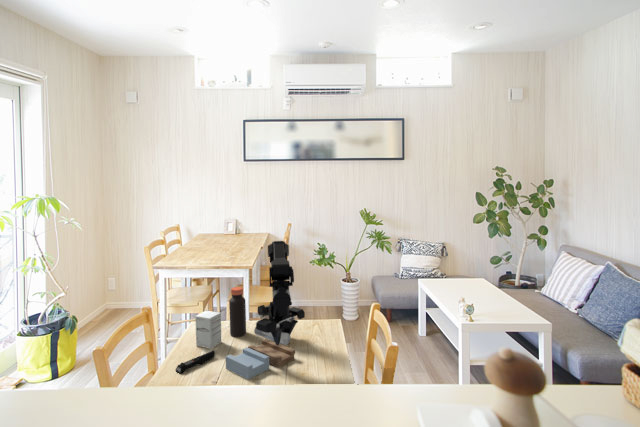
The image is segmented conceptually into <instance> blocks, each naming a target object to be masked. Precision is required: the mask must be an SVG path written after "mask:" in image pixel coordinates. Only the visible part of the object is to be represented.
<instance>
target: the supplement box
mask: <svg viewBox="0 0 640 427" xmlns="http://www.w3.org/2000/svg"><path fill="white" fill-rule="evenodd" d="M195 341H196V342H195V344H196V347H201V348H206V349H213V348H214V347H216V346H217V345H219V344H221V343H222V312H218V311H211V310H205V311H202V312H200V313H199V314H197V315H195Z"/></svg>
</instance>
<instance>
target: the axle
mask: <svg viewBox="0 0 640 427" xmlns="http://www.w3.org/2000/svg"><path fill="white" fill-rule="evenodd" d="M253 330H254V335H256V336H259V337H261V338H264V339H268V340H270V341H273V342H275V341H274V338H273V336H272V334H271V332H270V333H266V332H263V331H260V330H257V329H256V326H255V327H254V329H253ZM290 341H291V334H289V333H286V332H283V331H282V333H281V338H280V343H279V344H281V345H283V346H287V345H288V344H289V343H290Z"/></svg>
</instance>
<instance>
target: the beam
mask: <svg viewBox="0 0 640 427" xmlns="http://www.w3.org/2000/svg"><path fill="white" fill-rule="evenodd" d="M247 348H250V349H252V350H255V351H257V352H259V353H262V354H264V355H266V356H269V365H271V366H273V367H275V368H276V367H277V368H280V367H283V366H285V365H287V364H289V363H291V362H292V361H295V355H296V349H293V348H292V347H288V346H287V345H283V344H280V343H279V345H276V343H275V341H272V340H269V339H267V338H264V339H262V340H261V344H259V345H257V346H256V345H254V344H250V345H248V346H247Z"/></svg>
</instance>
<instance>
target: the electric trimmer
mask: <svg viewBox="0 0 640 427" xmlns="http://www.w3.org/2000/svg"><path fill="white" fill-rule="evenodd" d="M215 356H216V352H215V350H211V351H209V352H206V353H204V354H202V355H201V354H200V355H199V356H197V357H194V358H192V359H189V360H187V361H185V362H181V363H180V364H178V365H177V366H176V368H175V371H176V372H177V374H178V373H179V374H178V375H181V374H182V375H183V374H184V373H185V372H186V371H188V370H191V369H192V368H195V367H196V366H199V365H201V366H202V365H203V364H205V363H207V362H208V361H210V360H211V359H213V358H214V357H215Z"/></svg>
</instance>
